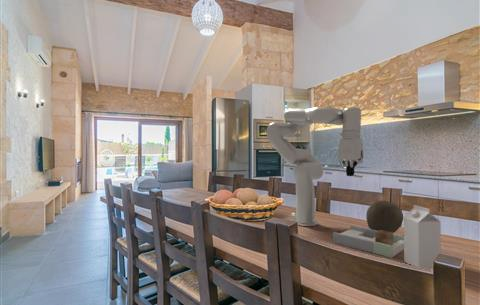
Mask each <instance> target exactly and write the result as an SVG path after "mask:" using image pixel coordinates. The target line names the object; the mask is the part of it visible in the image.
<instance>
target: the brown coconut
mask: <svg viewBox="0 0 480 305" xmlns="http://www.w3.org/2000/svg"><path fill="white" fill-rule="evenodd" d="M365 216H366V218H365V219H366V223H367V226H368V229H371V230H376V231H379V230H384V231H389V232H393V234H395V233H396V232H397V231H398V230H399V229H400V227H401V226H402V224H403V223H404V214H403V211H402V209H401V208H400V207H399V206H398V205H396V203H393V201H388V200H387V201H386V200H377V201H374V202H373V203H372V204H371V205H369V206H368V208H367V210H366V215H365Z"/></svg>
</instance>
